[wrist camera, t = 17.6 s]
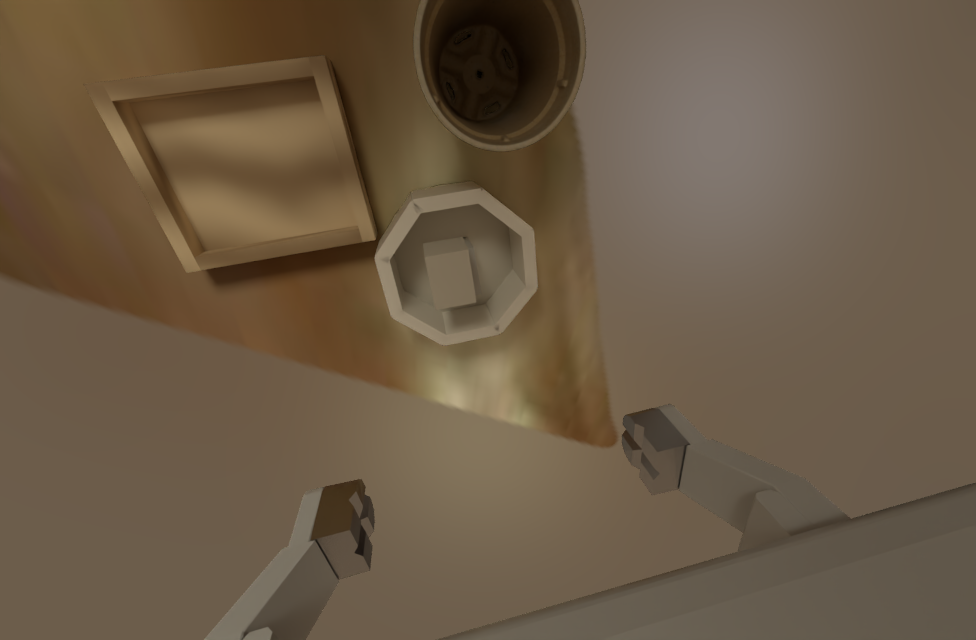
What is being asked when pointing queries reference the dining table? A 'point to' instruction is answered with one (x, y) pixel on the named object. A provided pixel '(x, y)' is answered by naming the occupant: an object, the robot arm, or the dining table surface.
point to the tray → (242, 159)
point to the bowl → (498, 255)
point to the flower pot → (500, 67)
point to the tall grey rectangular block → (473, 266)
